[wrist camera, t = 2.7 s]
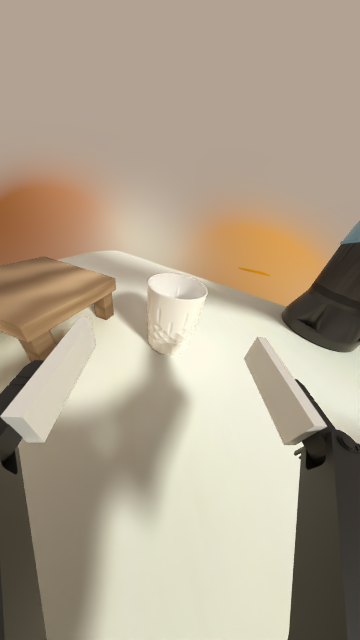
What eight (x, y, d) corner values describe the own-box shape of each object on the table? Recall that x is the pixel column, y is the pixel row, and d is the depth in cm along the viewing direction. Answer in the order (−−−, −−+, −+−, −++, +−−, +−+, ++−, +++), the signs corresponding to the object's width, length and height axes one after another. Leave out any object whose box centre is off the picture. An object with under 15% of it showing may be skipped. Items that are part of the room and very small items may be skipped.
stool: (117, 313, 30) (115, 278, 26) (44, 373, 19) (19, 327, 15) (55, 292, 32) (44, 256, 28) (-44, 334, 21) (-88, 284, 17)
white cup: (133, 342, 25) (133, 282, 19) (162, 319, 31) (169, 268, 25) (176, 367, 22) (191, 308, 17) (199, 338, 28) (216, 286, 22)
